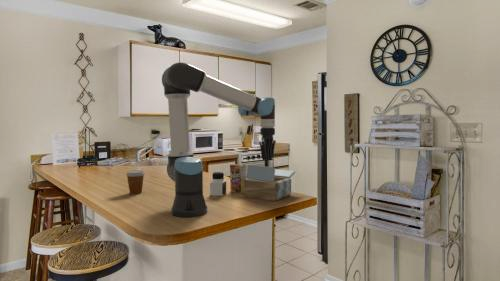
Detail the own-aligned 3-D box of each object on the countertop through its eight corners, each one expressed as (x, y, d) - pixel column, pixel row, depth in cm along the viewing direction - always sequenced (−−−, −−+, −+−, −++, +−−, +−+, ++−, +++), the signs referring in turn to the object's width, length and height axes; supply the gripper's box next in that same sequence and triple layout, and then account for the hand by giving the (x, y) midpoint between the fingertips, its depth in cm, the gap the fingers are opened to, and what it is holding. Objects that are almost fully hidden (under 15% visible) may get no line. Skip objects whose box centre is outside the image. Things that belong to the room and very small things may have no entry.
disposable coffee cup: (123, 194, 178) (122, 172, 177) (133, 190, 187) (132, 170, 186) (138, 195, 175) (138, 173, 175) (148, 191, 185) (147, 170, 184)
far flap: (288, 176, 174) (294, 170, 180) (263, 174, 184) (269, 168, 189) (289, 178, 175) (295, 172, 180) (264, 175, 184) (270, 170, 189)
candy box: (229, 191, 184) (229, 164, 184) (235, 190, 188) (235, 163, 187) (240, 193, 178) (240, 165, 177) (246, 192, 181) (246, 165, 180)
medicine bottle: (222, 196, 173) (222, 173, 172) (209, 195, 174) (209, 173, 173) (226, 193, 180) (226, 171, 179) (213, 192, 181) (213, 171, 180)
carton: (276, 201, 160) (276, 183, 160) (243, 196, 172) (243, 179, 172) (292, 195, 173) (292, 178, 173) (260, 190, 185) (260, 175, 185)
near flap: (247, 178, 171) (249, 165, 172) (273, 181, 162) (275, 167, 163) (246, 178, 170) (248, 165, 171) (272, 181, 161) (274, 167, 162)
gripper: (267, 127, 163) (267, 174, 165) (280, 127, 174) (280, 171, 175) (254, 127, 168) (254, 173, 169) (268, 127, 178) (268, 170, 179)
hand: (267, 172), depth 172 cm, fingers closed
